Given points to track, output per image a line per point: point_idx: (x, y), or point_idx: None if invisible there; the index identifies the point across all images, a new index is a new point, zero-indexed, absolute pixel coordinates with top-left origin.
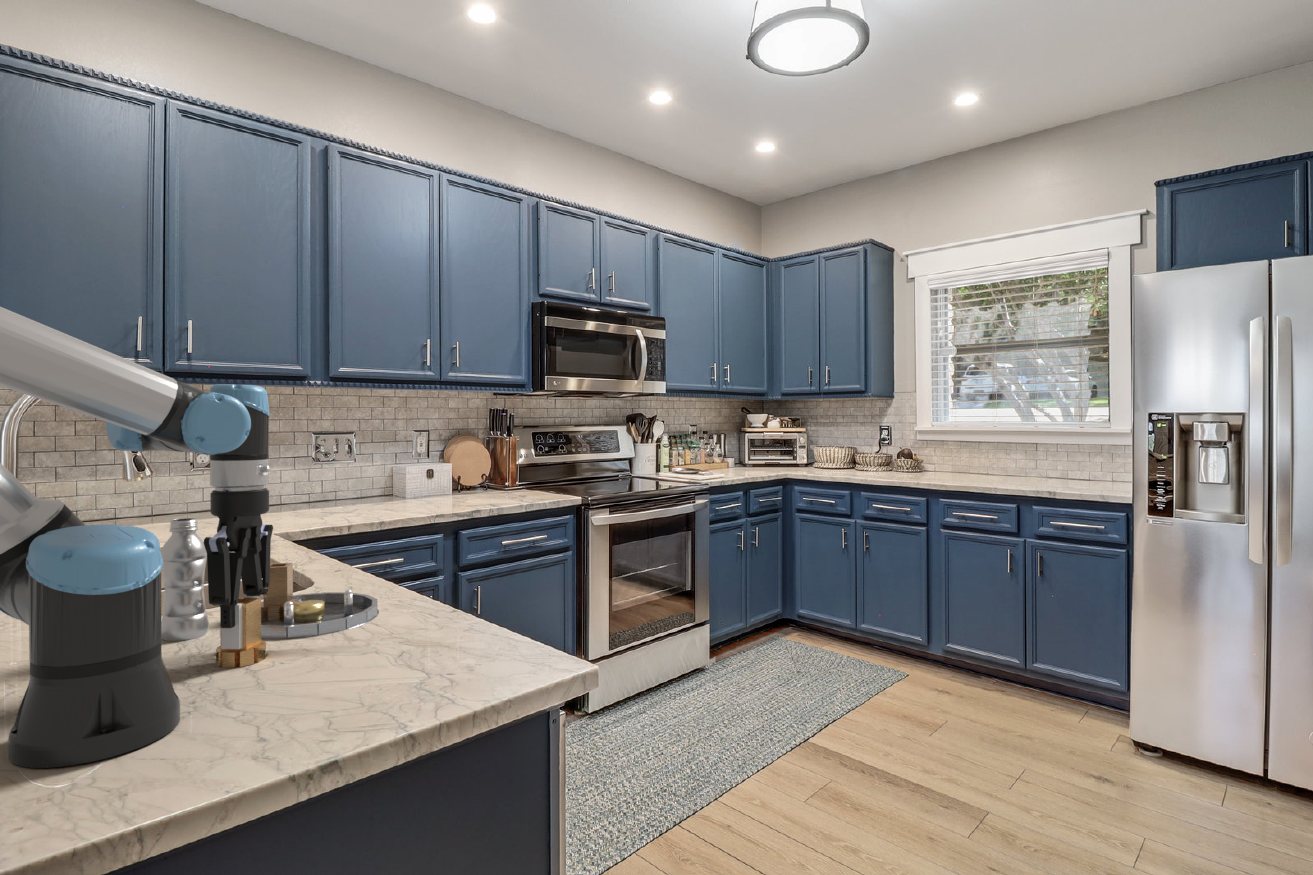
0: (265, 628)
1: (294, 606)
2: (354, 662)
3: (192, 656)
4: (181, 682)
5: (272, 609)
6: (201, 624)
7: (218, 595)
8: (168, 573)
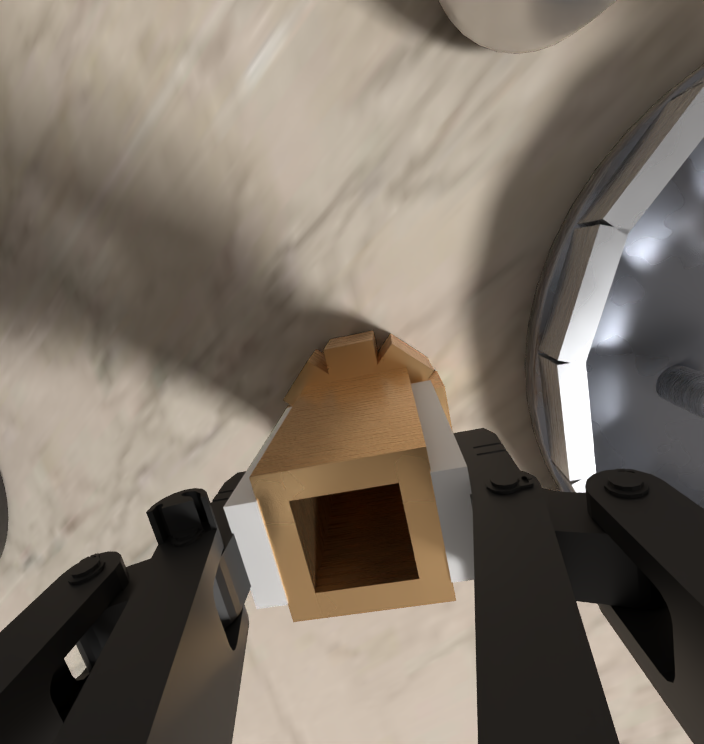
0: (556, 390)
1: None
2: (427, 714)
3: (362, 187)
4: (155, 379)
5: None
6: (543, 23)
7: (54, 672)
8: None
